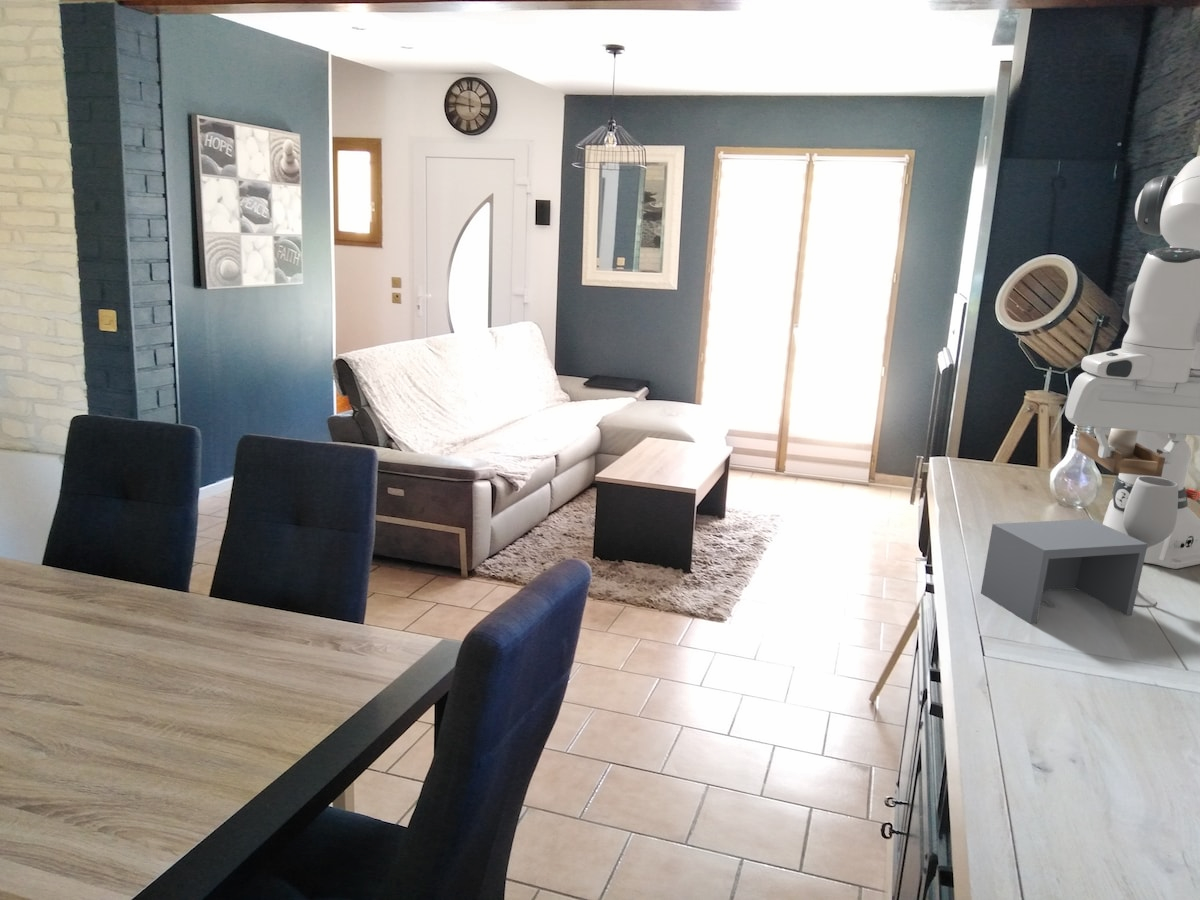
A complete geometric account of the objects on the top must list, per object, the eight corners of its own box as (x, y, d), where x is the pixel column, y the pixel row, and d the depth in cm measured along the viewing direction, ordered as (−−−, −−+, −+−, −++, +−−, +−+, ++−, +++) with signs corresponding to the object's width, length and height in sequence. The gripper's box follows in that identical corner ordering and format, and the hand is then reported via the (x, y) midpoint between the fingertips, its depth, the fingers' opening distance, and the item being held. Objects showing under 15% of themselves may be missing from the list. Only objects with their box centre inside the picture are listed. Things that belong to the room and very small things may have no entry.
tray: (1120, 453, 142) (1126, 420, 141) (1161, 476, 129) (1169, 441, 127) (1076, 449, 143) (1083, 417, 142) (1113, 472, 129) (1120, 437, 128)
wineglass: (1164, 609, 151) (1192, 490, 145) (1115, 603, 152) (1140, 485, 147) (1147, 591, 158) (1173, 477, 153) (1100, 586, 159) (1124, 472, 154)
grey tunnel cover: (1076, 585, 159) (1090, 519, 156) (1131, 615, 148) (1147, 543, 145) (980, 592, 154) (992, 524, 151) (1030, 623, 143) (1044, 550, 139)
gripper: (1220, 368, 129) (1199, 461, 132) (1070, 356, 131) (1053, 448, 135) (1245, 375, 123) (1221, 472, 126) (1087, 363, 125) (1068, 459, 129)
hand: (1133, 460), depth 130 cm, fingers closed on tray, 6 cm apart
